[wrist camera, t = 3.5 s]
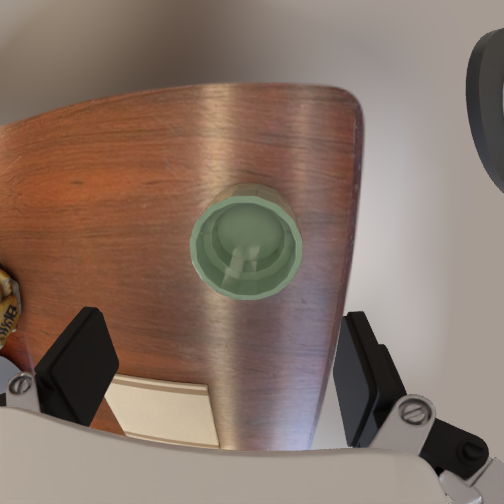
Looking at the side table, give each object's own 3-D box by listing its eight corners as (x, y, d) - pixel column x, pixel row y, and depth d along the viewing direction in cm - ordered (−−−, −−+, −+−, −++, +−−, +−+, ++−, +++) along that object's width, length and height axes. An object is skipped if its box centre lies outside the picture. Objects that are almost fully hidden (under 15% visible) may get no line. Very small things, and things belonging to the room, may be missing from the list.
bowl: (297, 181, 21) (304, 196, 17) (295, 269, 24) (299, 300, 20) (201, 183, 21) (184, 197, 17) (208, 268, 24) (196, 299, 20)
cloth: (207, 384, 30) (206, 387, 29) (220, 447, 35) (219, 450, 35) (93, 369, 30) (92, 371, 30) (127, 433, 36) (126, 435, 36)
